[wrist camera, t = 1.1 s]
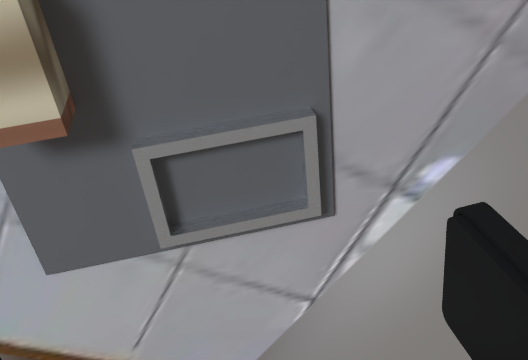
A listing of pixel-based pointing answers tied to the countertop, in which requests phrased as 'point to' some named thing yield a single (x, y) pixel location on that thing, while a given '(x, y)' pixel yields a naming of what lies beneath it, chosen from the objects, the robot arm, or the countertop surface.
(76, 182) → the rubber mat
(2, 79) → the maple block
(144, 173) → the metal frame
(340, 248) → the countertop surface
